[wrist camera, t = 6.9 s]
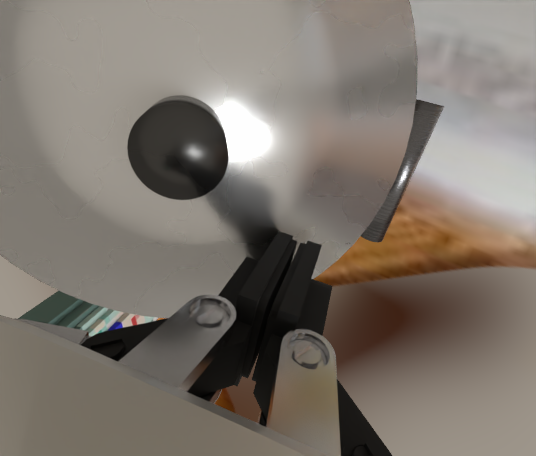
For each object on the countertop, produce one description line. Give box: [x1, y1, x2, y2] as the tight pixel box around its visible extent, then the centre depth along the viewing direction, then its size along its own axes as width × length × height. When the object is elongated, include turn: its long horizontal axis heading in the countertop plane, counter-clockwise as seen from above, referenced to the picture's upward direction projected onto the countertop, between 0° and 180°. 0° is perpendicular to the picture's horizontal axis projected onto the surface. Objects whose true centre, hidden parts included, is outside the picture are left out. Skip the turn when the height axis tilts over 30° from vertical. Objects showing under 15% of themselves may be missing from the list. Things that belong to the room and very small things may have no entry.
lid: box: [0, 0, 444, 318], centre depth 9 cm, size 15×14×2 cm
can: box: [18, 291, 159, 336], centre depth 22 cm, size 6×6×15 cm
